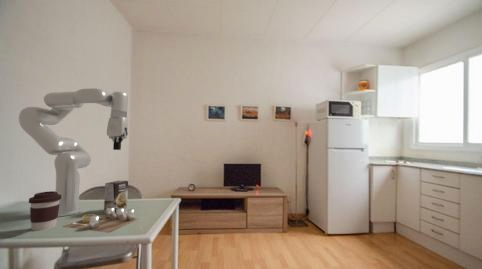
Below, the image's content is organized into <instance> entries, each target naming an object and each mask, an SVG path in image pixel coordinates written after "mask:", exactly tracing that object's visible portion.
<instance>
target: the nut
mask: <svg viewBox="0 0 482 269" xmlns="http://www.w3.org/2000/svg"><path fill="white" fill-rule="evenodd" d="M95 215H96V214H95V213H87V214H84V215H82V217H81V220H82V222H83V223H90V217H91V216H95Z"/></svg>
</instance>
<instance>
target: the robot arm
mask: <svg viewBox="0 0 482 269" xmlns="http://www.w3.org/2000/svg"><path fill="white" fill-rule="evenodd" d="M128 101H129V95H128V94H127V93H126V92H123V91H114V92H112V93H110V92H108V91H107V90H104V89H102V88H96V87H95V88H94V87H93V88H81V89H78V90H76V91H54V92H49V93H47V94H45V95H44V97H43V103H44V104H45V105H46V106H47V107H49V108H51V109H49V108H48V109H47V108H43V107H39V106H28V107H25V108H23V109H21V110H20V112H19V113H18V114H19V115H18V123H19V125H20V127H21V128H22V130H23V131H24V132H25V133H26V134H27V135H29V137H31V138H32V139H33V140H34V142H36V143H37V144H38V146H40V147H41V149H43V150H44V151H45V152H46V153H47V154H48V155H51V156H56V157H55V159H54V169H55V192H57V193H58V194H60V195H62V196H61V199H60V200H59V212H58V217H57V218H59V217H67V216H73V215H76V214H79V213H81V212H82V211H83V208H82V207H79V204H80V202H79V200H80V183H81V182H80V180H81V178H80V173H79V170H78V169H84V168H86V167H88V166H89V165H90V164H91V162H92V159H91V158H92V157H91V156H90V154H89V152H88V151H87V150H86V149H85V148H84V147H83V146H81V145H80V143H79V142H78V141H76V140H75V139H74V138H69V137H62V136H60V135H58V134H56V132H54V130H52V128H50V127H48V126H54V125H57V124H59V123H60V122H61V121H63V120H64V119H65V118H66V117H68V115H69V114H70V113H71V112H73V111H74V109H77V108H78V109H79V108H82V107H83V106H84V105H85V104H98V105H101V106H103V107H108V108H109V107H110V117H109V118H108V121H107V126H106V127H107V128H106V136H108V139H111V140H112V143H113V144H112V145H113V147H112V149H113V151H115V150H117V151H121V150H122V149H121V148H122V143H123V141H124V140H127V136H128V135H129V121H128V120H129V119H128V103H129V102H128ZM47 125H48V126H47Z"/></svg>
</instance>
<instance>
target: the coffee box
mask: <svg viewBox="0 0 482 269" xmlns="http://www.w3.org/2000/svg"><path fill="white" fill-rule="evenodd" d="M128 192H129V180H117V181H116V180H115V181H111V182H105V185H104V198H103V199H104V203H103V215H104V214H106V213H107V208H109V207H115V214H114V215H116V209H118V208H124V211H127V209H128V196H129V193H128Z"/></svg>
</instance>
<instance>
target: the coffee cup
mask: <svg viewBox="0 0 482 269" xmlns="http://www.w3.org/2000/svg"><path fill="white" fill-rule="evenodd" d="M55 191H56V190H55ZM55 191H52V190H51V191H42V192H37V193H35V194H34V195H33V197H29V198H28V203H29V204H30V208H29V213H30V214H29V216H30V223H31V231H43V230H48V229H51V228H54V227H56V226H57V219H58V218H59V217H58V212H59V200H60V199H61V196H62V195H60V194H58V193H57V192H55Z"/></svg>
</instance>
